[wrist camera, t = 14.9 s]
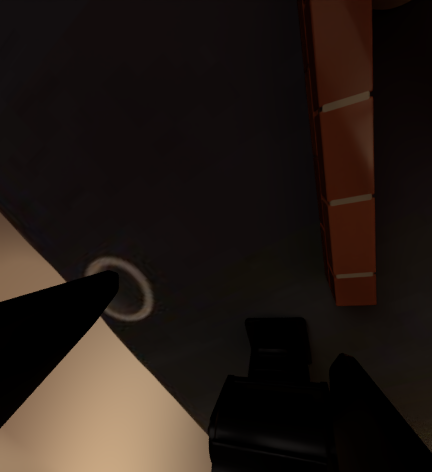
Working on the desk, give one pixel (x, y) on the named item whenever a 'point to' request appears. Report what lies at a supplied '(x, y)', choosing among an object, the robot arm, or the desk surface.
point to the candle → (387, 4)
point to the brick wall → (342, 140)
